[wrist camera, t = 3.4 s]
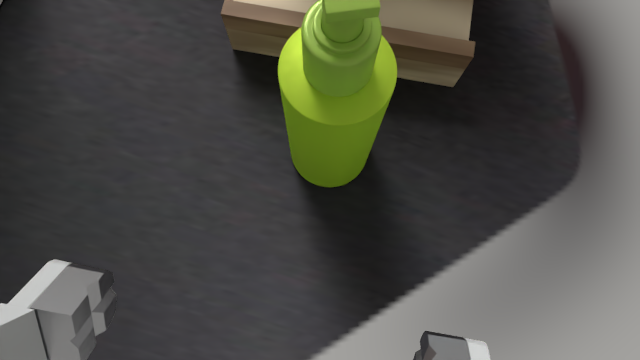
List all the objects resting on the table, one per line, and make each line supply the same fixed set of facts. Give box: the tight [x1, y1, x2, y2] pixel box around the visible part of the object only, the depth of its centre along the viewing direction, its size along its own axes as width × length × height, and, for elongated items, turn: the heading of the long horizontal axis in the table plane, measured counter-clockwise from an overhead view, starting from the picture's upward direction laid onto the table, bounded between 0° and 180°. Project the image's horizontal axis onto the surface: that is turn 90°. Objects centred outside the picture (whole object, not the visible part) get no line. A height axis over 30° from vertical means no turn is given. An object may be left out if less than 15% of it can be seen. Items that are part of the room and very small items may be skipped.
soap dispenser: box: [278, 0, 397, 187], centre depth 25 cm, size 6×7×20 cm
